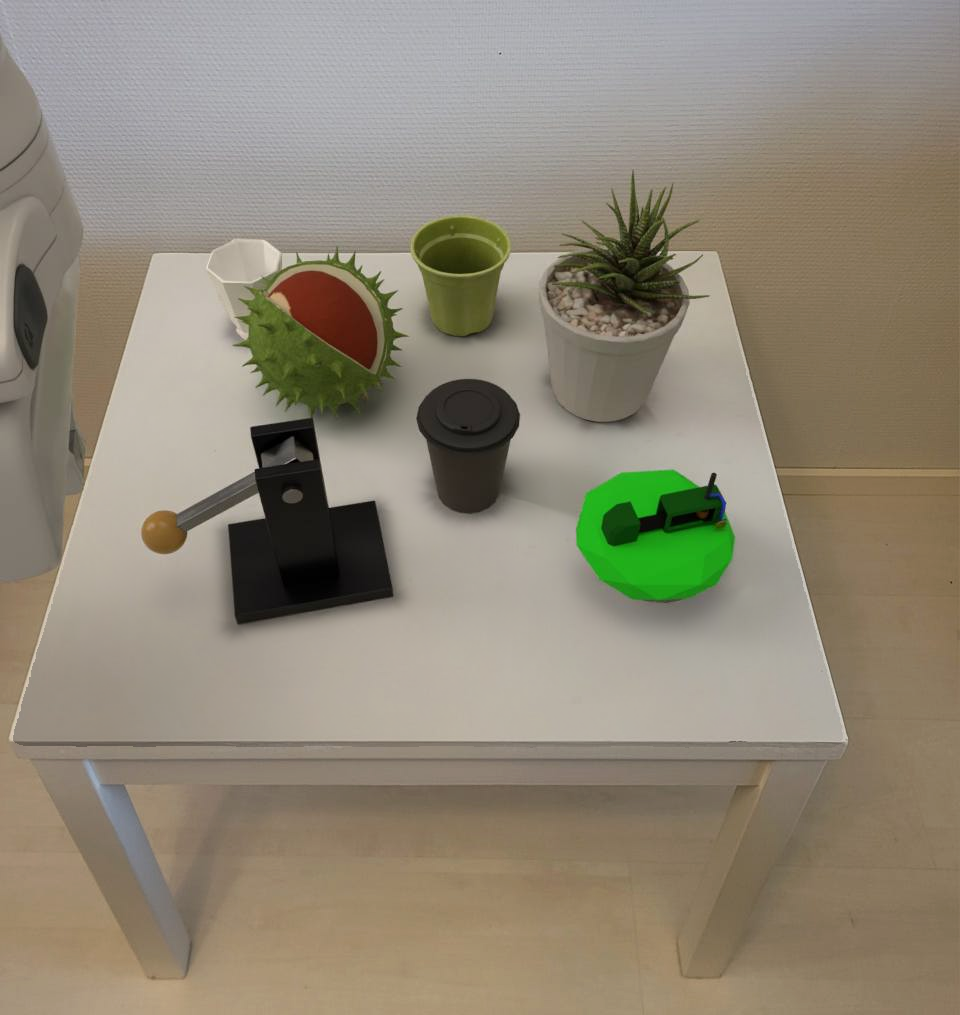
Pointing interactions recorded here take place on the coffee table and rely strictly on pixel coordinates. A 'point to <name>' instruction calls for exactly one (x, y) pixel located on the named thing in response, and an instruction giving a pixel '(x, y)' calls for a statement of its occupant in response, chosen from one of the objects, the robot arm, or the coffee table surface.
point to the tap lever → (214, 502)
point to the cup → (242, 274)
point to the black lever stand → (303, 539)
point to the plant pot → (461, 270)
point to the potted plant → (613, 315)
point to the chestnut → (321, 333)
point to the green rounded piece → (656, 535)
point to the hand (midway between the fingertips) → (67, 472)
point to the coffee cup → (468, 441)
